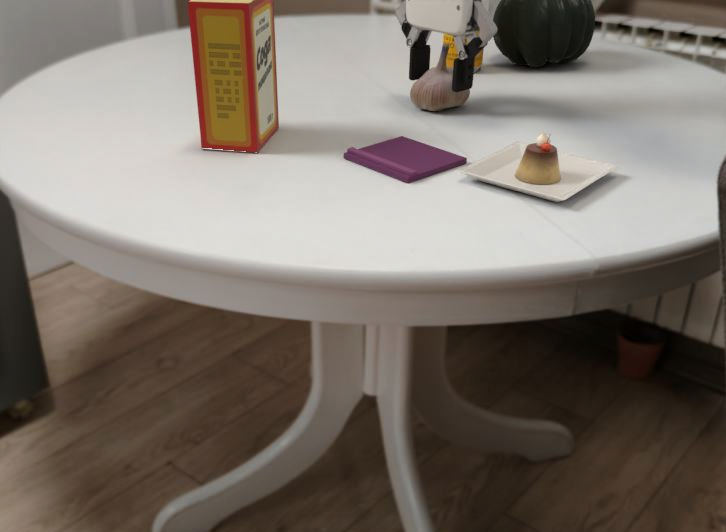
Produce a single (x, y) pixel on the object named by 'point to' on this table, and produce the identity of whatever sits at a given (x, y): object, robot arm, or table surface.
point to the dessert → (538, 170)
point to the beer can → (453, 54)
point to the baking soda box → (234, 72)
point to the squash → (543, 30)
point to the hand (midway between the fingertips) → (440, 82)
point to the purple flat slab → (404, 158)
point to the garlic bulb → (437, 87)
